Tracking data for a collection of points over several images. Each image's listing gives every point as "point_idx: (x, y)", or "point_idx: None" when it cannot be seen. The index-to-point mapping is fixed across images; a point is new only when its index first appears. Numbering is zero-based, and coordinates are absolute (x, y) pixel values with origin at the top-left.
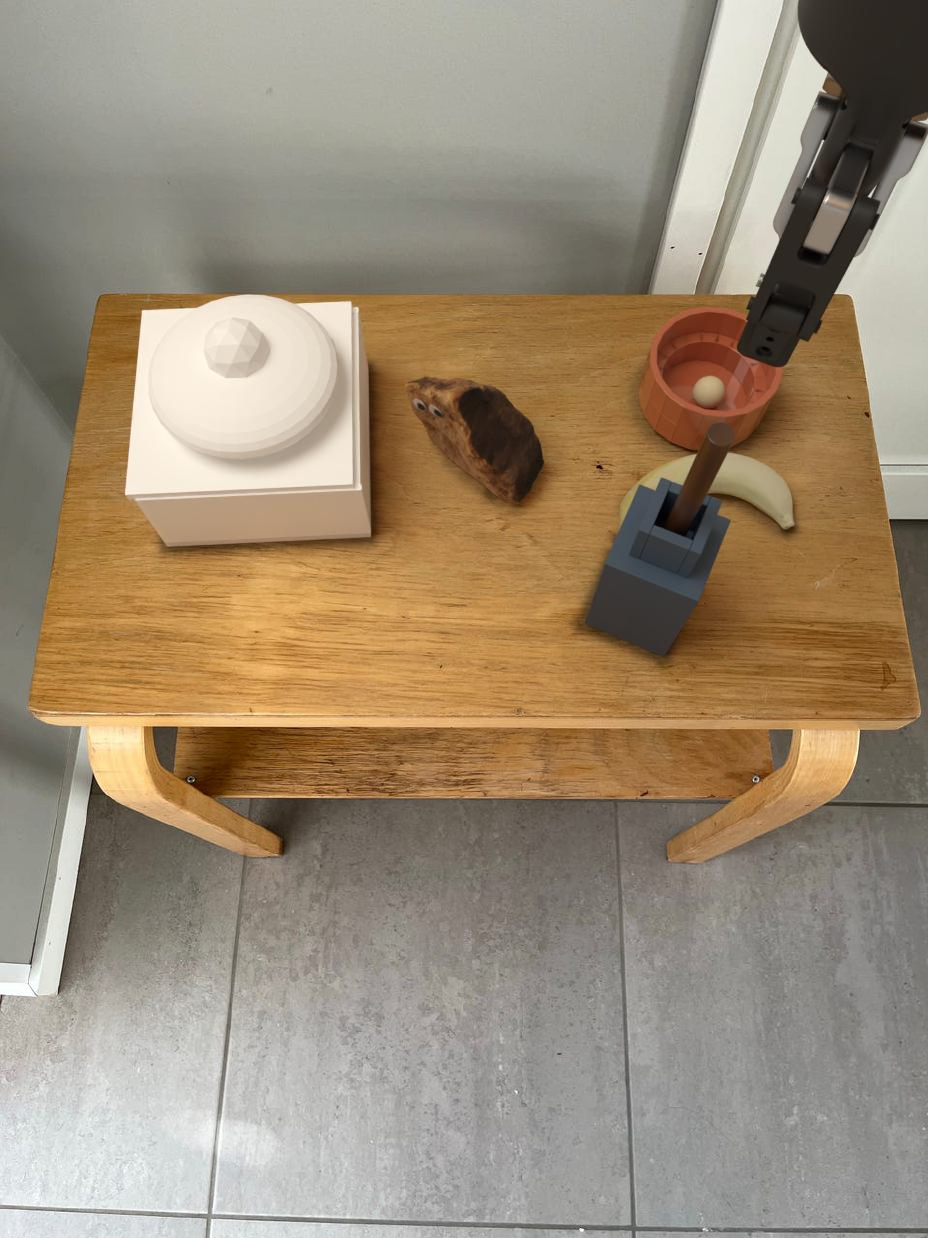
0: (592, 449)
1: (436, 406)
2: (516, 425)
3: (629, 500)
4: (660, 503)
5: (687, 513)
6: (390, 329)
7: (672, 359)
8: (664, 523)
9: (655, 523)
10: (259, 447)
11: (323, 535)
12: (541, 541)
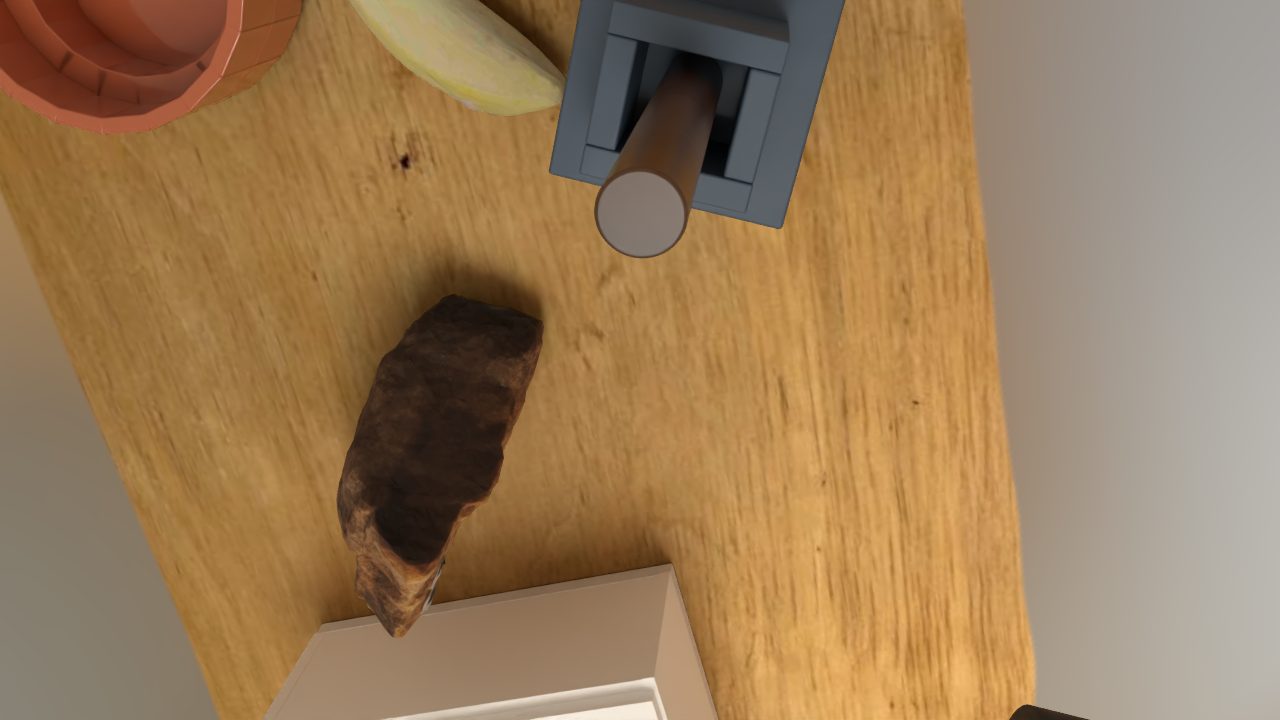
0: (367, 182)
1: (432, 580)
2: (408, 399)
3: (491, 104)
4: None
5: (712, 120)
6: (226, 600)
7: (95, 48)
8: (644, 99)
9: None
10: None
11: (692, 644)
12: (609, 256)
